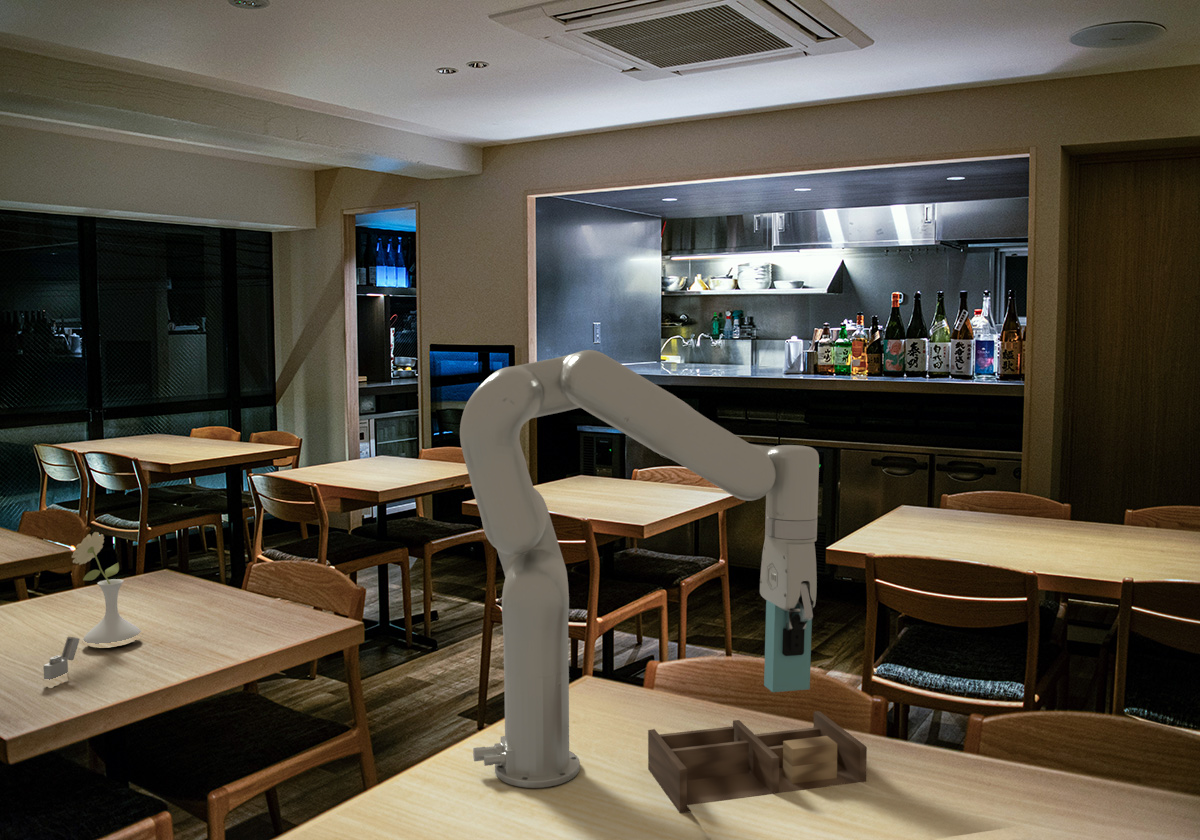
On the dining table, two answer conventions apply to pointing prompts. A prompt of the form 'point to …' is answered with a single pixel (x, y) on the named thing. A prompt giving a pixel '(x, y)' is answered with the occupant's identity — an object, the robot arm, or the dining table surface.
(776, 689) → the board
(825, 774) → the offcut lower
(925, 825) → the dining table surface
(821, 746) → the offcut upper
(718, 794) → the rack
